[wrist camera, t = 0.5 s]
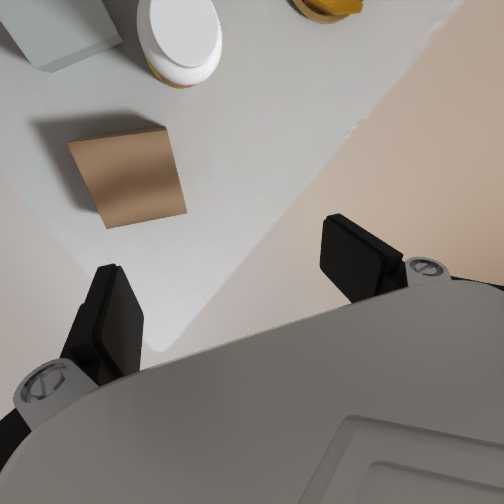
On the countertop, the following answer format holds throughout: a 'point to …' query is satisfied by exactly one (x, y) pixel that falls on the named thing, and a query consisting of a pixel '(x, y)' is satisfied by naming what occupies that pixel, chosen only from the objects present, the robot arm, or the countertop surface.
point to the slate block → (59, 30)
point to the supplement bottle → (180, 39)
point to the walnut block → (130, 175)
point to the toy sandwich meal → (328, 9)
